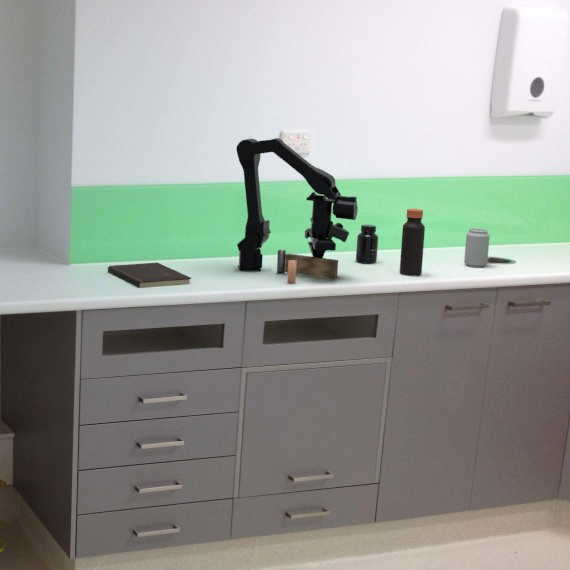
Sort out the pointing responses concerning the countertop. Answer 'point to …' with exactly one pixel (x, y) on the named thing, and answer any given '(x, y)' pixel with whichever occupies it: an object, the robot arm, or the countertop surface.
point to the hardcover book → (148, 275)
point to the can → (476, 248)
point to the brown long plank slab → (313, 266)
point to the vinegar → (412, 244)
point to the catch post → (292, 271)
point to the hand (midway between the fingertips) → (317, 267)
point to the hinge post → (281, 262)
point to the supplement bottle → (367, 245)
